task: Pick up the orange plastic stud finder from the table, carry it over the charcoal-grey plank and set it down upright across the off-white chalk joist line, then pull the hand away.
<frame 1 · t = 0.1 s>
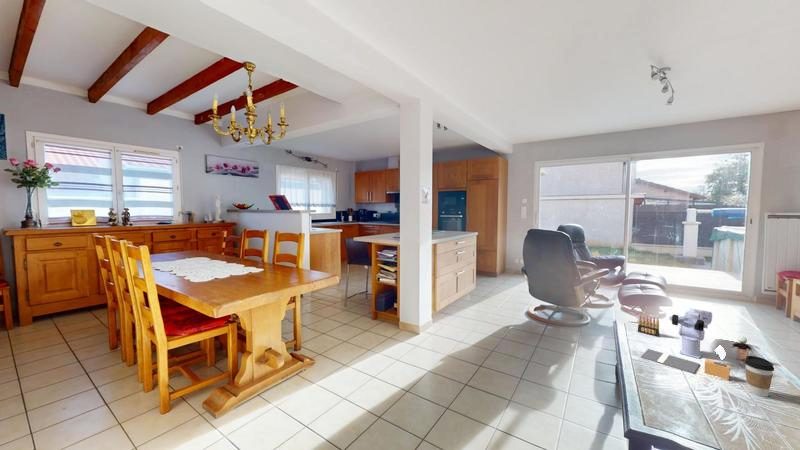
hand: (684, 324, 153), 22 cm above the table, tool horizontal, fingers open, 7 cm apart
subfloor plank: (669, 360, 158), on the table
coffee cup: (757, 393, 130), on the table
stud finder: (716, 375, 144), on the table
ammunition clip: (648, 334, 192), on the table
grandmother figurine: (741, 360, 158), on the table
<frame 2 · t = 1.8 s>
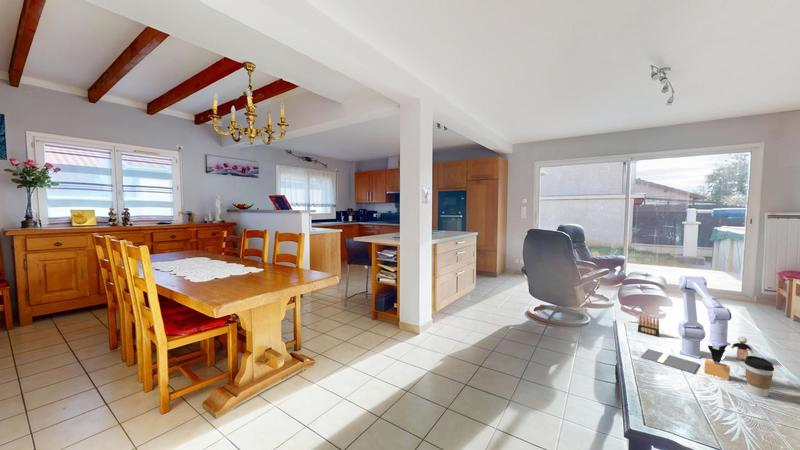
hand: (717, 359, 144), 8 cm above the table, tool pointing down, fingers open, 7 cm apart
nothing on the table moved.
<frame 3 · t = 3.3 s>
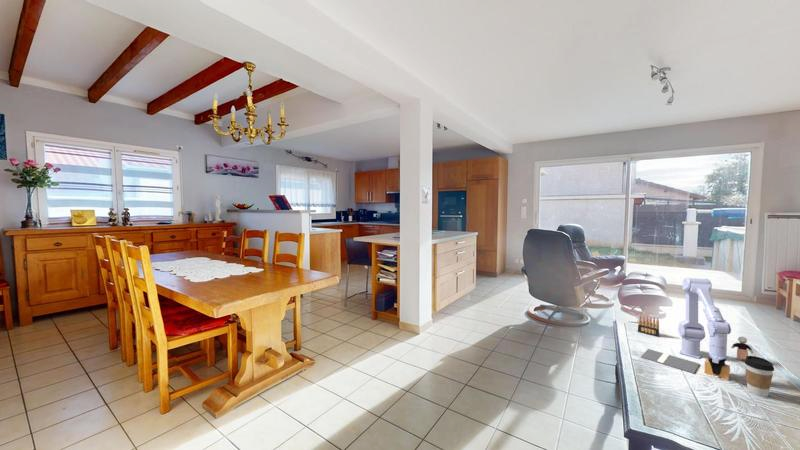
hand: (716, 372, 144), 1 cm above the table, tool pointing down, fingers closed on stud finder, 4 cm apart
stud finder: (716, 375, 144), on the table, touching gripper
everything else where it was.
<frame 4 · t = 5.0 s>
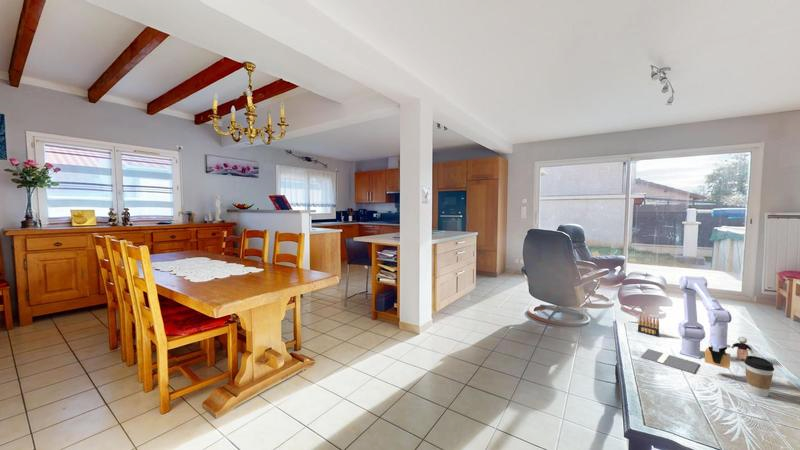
hand: (717, 361, 144), 7 cm above the table, tool pointing down, fingers closed on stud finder, 4 cm apart
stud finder: (717, 364, 144), point 6 cm above the table, touching gripper
everything else where it was.
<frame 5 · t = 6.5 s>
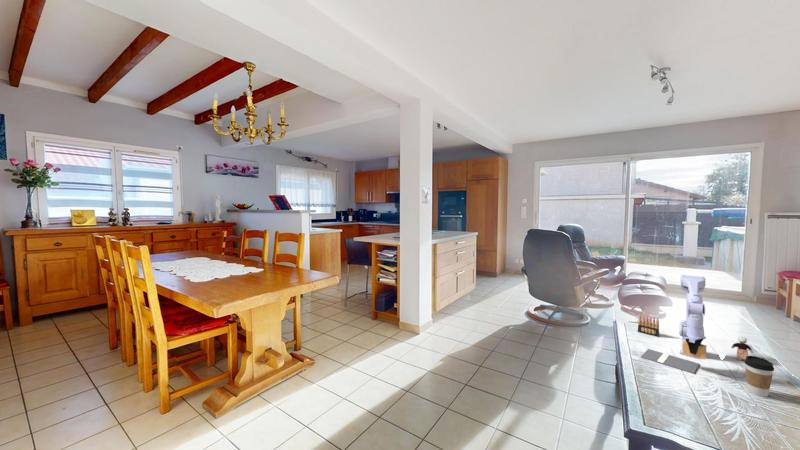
hand: (694, 352, 150), 8 cm above the table, tool pointing down, fingers closed on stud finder, 4 cm apart
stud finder: (694, 355, 150), point 7 cm above the table, touching gripper
everything else where it was.
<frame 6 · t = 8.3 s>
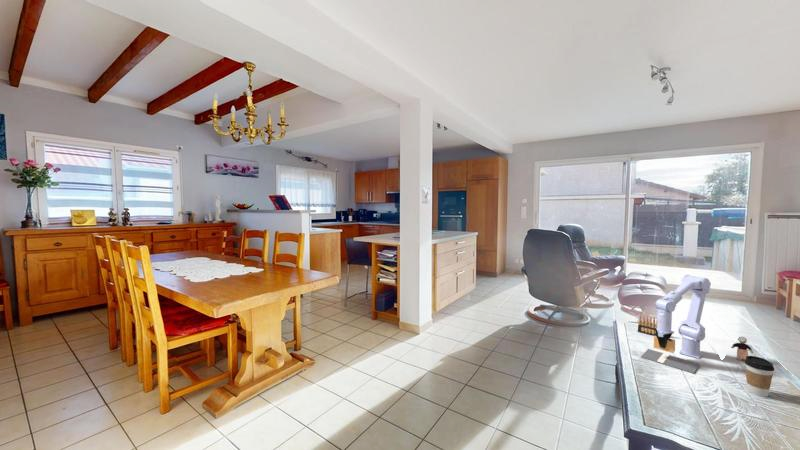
hand: (663, 346, 160), 7 cm above the table, tool pointing down, fingers closed on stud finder, 4 cm apart
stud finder: (664, 349, 160), point 6 cm above the table, touching gripper
everything else where it was.
when the fingers open (3 cm above the table, at t = 9.9 s): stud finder stays where it is, resting on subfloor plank.
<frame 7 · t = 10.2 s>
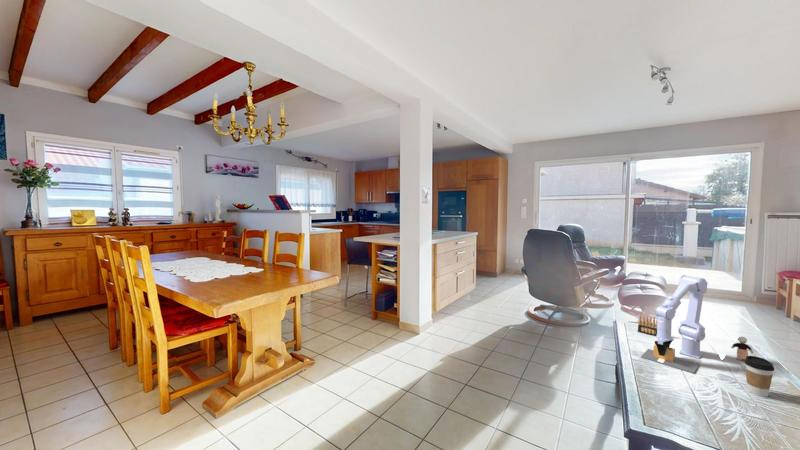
hand: (663, 353, 160), 3 cm above the table, tool pointing down, fingers open, 6 cm apart
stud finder: (663, 358, 160), point 1 cm above the table, touching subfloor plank
everything else where it was.
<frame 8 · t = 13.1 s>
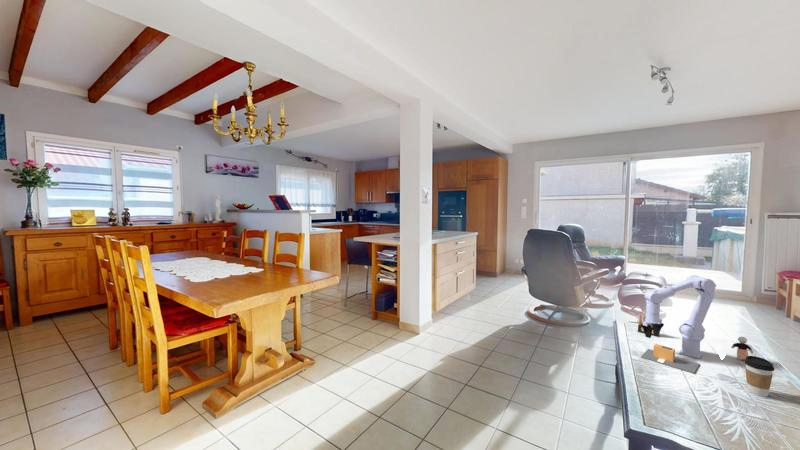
hand: (652, 336, 168), 9 cm above the table, tool pointing down, fingers open, 7 cm apart
nothing on the table moved.
at the end: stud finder 0.3 cm from the target spot on the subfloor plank, point 0.7 cm above the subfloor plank's base; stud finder tilted 0°; the gripper is holding nothing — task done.
